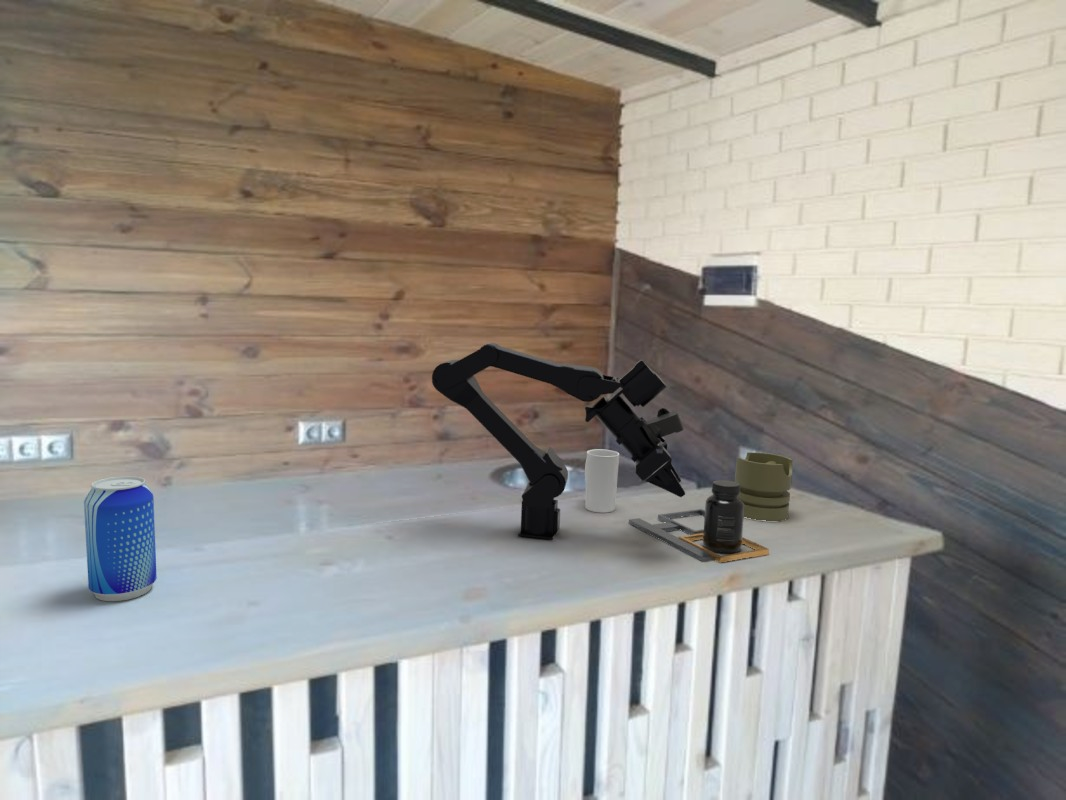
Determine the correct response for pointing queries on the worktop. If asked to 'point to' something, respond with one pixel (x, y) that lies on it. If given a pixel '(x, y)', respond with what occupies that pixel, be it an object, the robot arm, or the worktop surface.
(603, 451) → the mug
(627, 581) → the worktop surface
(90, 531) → the beer can
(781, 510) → the piston
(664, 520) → the silver gold metal frame
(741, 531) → the supplement bottle
